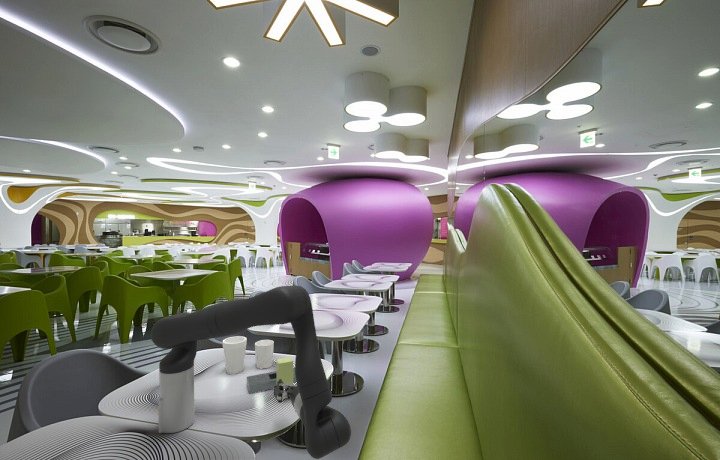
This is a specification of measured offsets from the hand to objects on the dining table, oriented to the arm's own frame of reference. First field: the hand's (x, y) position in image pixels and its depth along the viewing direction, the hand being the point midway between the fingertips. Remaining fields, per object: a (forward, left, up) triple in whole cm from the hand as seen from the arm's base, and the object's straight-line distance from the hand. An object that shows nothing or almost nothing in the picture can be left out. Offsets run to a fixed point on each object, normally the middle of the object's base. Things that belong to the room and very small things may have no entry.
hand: (293, 379), depth 106 cm
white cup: (-2, +42, -11) cm, 44 cm away
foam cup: (-14, +42, -11) cm, 46 cm away
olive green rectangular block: (0, +11, -11) cm, 16 cm away
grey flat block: (0, +23, -11) cm, 26 cm away
